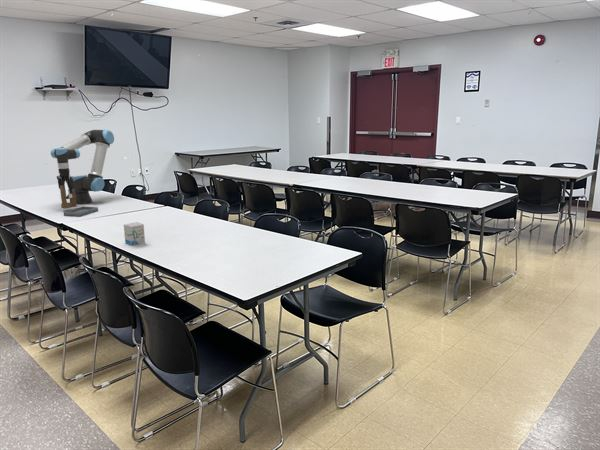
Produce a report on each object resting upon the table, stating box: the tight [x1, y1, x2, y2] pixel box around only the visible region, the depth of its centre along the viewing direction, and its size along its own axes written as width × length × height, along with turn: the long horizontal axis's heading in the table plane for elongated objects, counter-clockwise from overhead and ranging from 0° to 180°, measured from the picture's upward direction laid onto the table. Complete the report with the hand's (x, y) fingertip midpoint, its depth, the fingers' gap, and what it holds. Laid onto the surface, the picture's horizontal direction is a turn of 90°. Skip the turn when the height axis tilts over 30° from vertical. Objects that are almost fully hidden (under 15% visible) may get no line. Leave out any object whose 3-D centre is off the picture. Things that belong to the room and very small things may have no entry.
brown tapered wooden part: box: [59, 184, 78, 210], centre depth 360 cm, size 4×11×18 cm, turn 144°
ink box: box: [123, 221, 146, 246], centre depth 272 cm, size 8×8×12 cm
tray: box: [63, 206, 99, 218], centre depth 352 cm, size 21×14×3 cm, turn 167°
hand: (67, 197), depth 360 cm, fingers closed on brown tapered wooden part, 5 cm apart
